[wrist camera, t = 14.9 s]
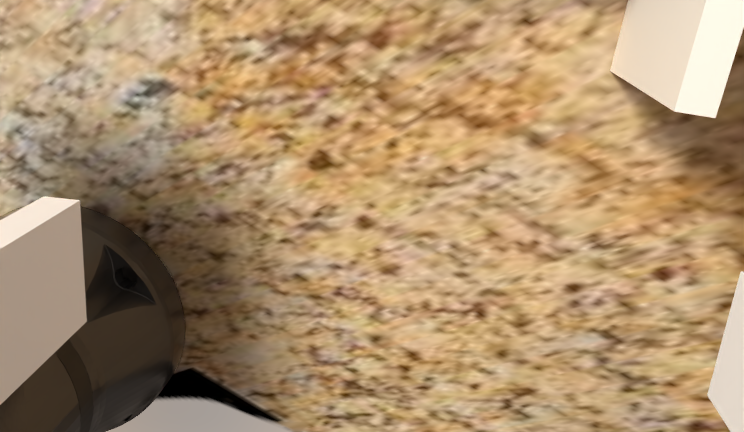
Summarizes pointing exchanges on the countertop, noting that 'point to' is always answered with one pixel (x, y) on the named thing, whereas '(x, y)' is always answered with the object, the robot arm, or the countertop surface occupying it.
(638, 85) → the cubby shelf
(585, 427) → the countertop surface
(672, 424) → the countertop surface
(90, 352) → the robot arm
